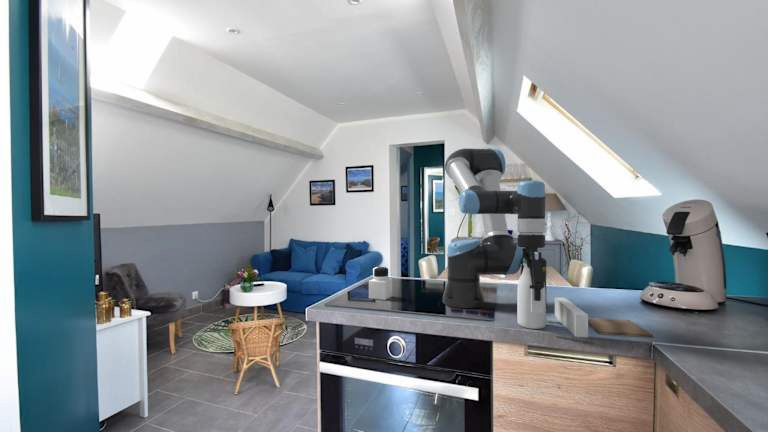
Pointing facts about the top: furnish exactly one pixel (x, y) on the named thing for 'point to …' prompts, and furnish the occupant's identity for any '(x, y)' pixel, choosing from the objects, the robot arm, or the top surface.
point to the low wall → (571, 317)
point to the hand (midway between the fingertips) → (531, 306)
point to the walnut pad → (618, 327)
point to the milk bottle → (529, 303)
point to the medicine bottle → (380, 284)
